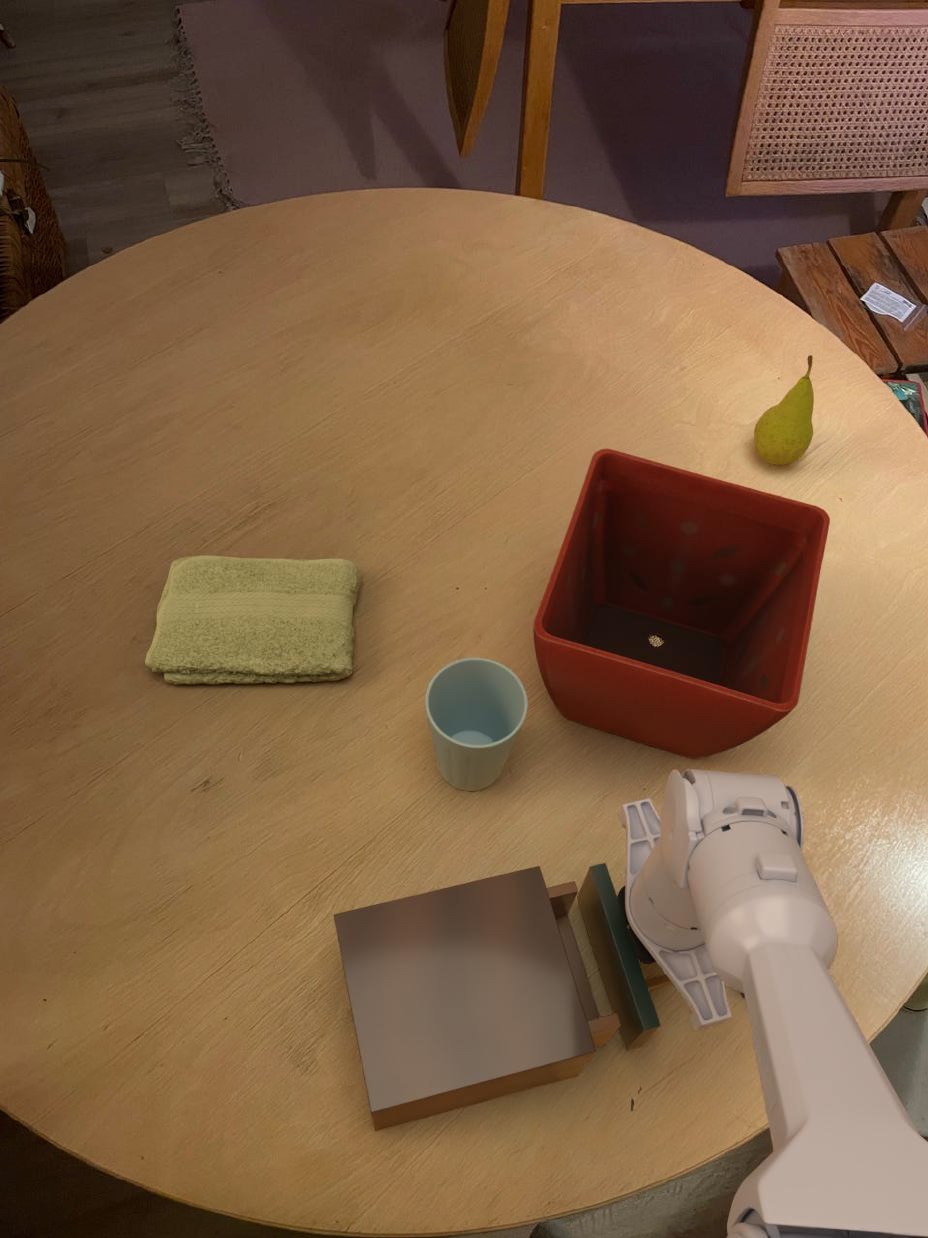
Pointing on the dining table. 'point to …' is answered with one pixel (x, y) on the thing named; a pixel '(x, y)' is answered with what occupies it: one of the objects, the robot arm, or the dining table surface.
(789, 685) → the flower pot
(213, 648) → the washcloth
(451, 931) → the cabinet
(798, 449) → the fruit
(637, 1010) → the drawer
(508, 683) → the cup
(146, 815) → the dining table surface
